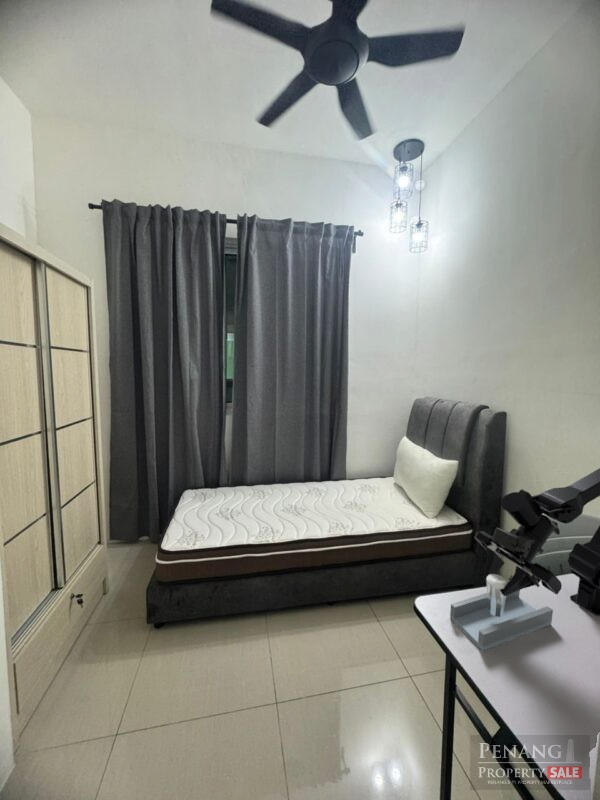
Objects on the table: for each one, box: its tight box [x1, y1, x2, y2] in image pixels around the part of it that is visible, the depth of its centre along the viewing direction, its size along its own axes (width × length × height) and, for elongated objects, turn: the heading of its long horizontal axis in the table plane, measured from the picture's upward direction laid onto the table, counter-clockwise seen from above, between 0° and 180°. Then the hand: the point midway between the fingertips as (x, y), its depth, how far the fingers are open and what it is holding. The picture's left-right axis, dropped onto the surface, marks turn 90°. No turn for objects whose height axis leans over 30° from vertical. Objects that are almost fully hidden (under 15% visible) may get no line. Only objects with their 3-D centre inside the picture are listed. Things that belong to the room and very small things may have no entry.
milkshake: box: [485, 573, 513, 617], centre depth 77 cm, size 4×5×10 cm
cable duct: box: [449, 590, 554, 652], centre depth 78 cm, size 22×9×4 cm, turn 109°
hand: (493, 587), depth 76 cm, fingers closed on milkshake, 4 cm apart
